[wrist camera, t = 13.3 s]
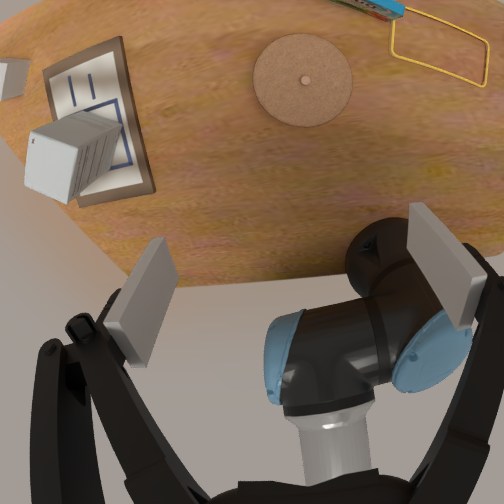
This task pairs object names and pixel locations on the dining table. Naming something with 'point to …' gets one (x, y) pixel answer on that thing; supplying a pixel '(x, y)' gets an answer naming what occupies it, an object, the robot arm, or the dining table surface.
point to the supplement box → (70, 154)
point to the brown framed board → (107, 106)
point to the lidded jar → (302, 80)
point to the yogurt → (376, 8)
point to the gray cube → (13, 77)
